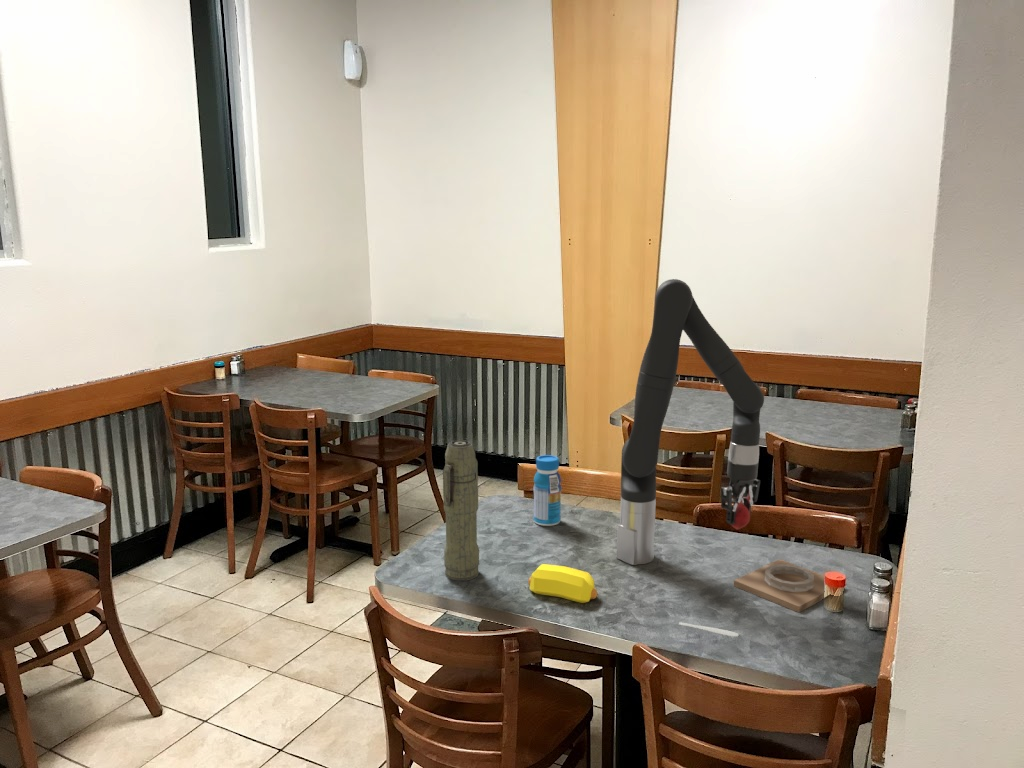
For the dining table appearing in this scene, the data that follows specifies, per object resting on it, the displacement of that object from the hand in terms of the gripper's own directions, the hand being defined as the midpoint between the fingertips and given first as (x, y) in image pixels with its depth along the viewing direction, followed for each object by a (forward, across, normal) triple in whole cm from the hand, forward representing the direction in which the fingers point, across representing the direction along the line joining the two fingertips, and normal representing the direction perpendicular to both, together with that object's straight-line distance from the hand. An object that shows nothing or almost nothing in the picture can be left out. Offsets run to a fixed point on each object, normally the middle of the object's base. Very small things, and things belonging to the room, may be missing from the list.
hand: (737, 520), depth 213 cm
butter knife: (+13, +36, +11) cm, 40 cm away
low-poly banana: (+14, +46, -16) cm, 51 cm away
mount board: (+12, 0, +16) cm, 20 cm away
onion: (+3, 0, 0) cm, 3 cm away
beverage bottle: (+14, +18, -54) cm, 59 cm away
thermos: (+14, +59, -41) cm, 73 cm away
